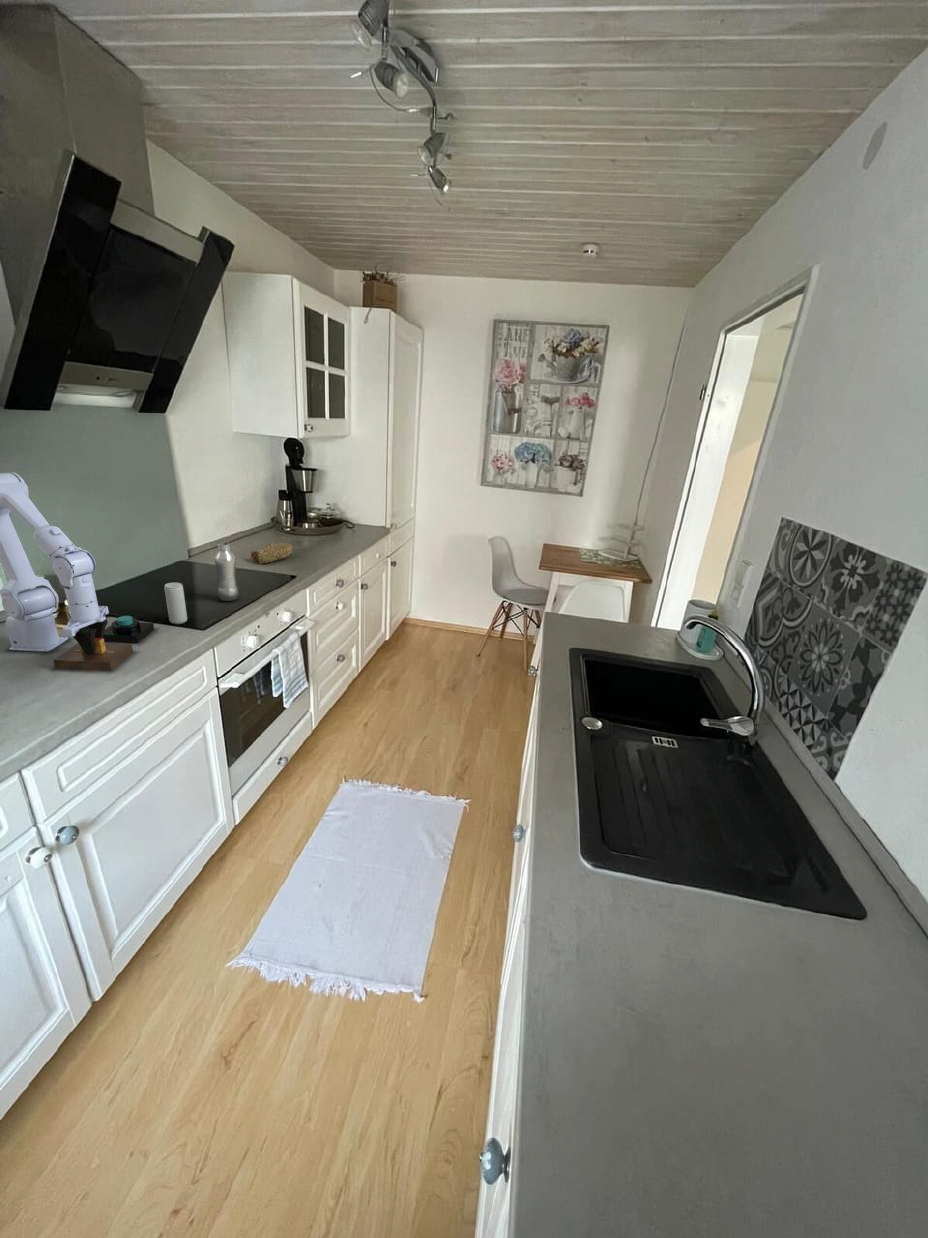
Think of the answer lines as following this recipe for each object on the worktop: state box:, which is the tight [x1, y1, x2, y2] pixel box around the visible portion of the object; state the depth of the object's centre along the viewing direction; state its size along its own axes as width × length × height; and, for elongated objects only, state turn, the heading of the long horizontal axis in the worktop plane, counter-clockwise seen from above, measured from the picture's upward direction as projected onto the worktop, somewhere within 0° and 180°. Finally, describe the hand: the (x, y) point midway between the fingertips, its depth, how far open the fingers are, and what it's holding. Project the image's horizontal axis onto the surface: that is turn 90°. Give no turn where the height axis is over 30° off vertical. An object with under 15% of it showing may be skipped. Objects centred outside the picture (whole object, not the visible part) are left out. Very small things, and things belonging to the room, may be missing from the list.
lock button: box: [116, 615, 133, 626], centre depth 137 cm, size 4×4×2 cm
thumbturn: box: [80, 638, 106, 654], centre depth 123 cm, size 5×2×4 cm, turn 95°
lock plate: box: [52, 642, 134, 672], centre depth 124 cm, size 13×10×3 cm
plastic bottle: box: [214, 541, 240, 602], centre depth 165 cm, size 6×7×20 cm
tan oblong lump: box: [250, 542, 294, 565], centre depth 213 cm, size 13×8×20 cm
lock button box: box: [103, 617, 155, 644], centre depth 138 cm, size 10×9×4 cm
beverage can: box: [164, 582, 188, 625], centre depth 147 cm, size 5×5×12 cm
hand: (93, 650), depth 124 cm, fingers closed
